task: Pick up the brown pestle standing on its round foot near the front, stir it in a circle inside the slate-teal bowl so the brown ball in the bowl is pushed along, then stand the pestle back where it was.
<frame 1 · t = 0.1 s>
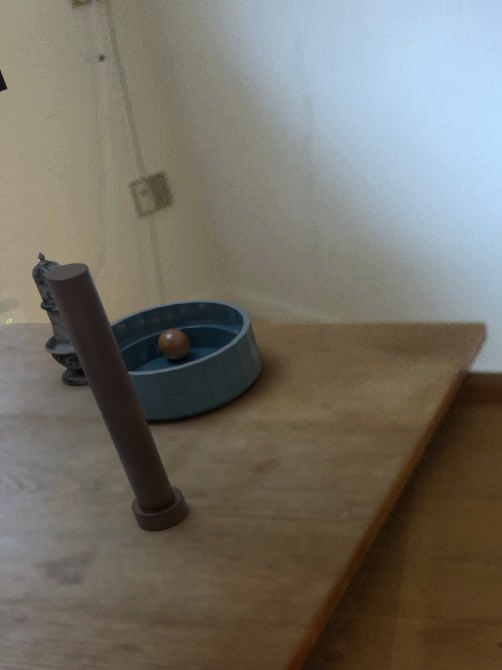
salt shaker: (89, 374, 96), on the table
brown pestle: (162, 515, 76), on the table
bowl: (184, 383, 92), on the table
brown ball: (174, 344, 94), point 2 cm above the table, touching bowl
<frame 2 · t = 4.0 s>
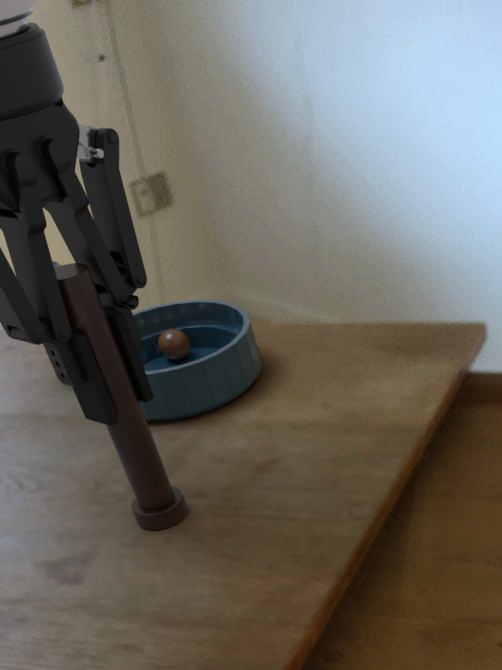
hand: (120, 407, 69), 10 cm above the table, tool pointing down, fingers closed on brown pestle, 3 cm apart
brown pestle: (162, 515, 76), on the table, touching gripper
everything else where it was.
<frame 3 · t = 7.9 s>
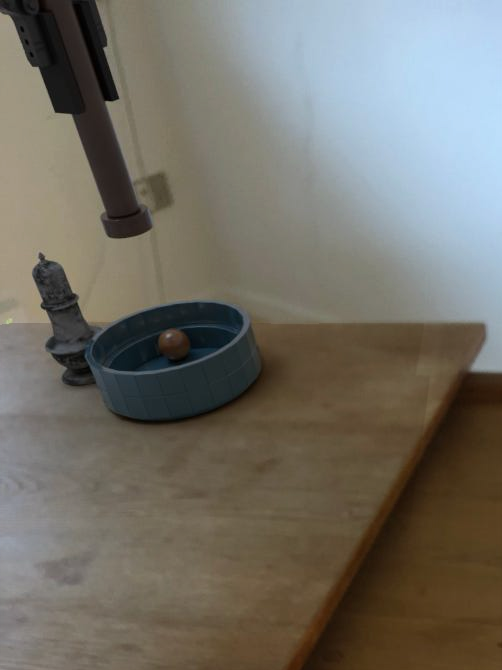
hand: (87, 105, 74), 24 cm above the table, tool pointing down, fingers closed on brown pestle, 3 cm apart
brown pestle: (130, 230, 81), point 15 cm above the table, touching gripper
everything else where it was.
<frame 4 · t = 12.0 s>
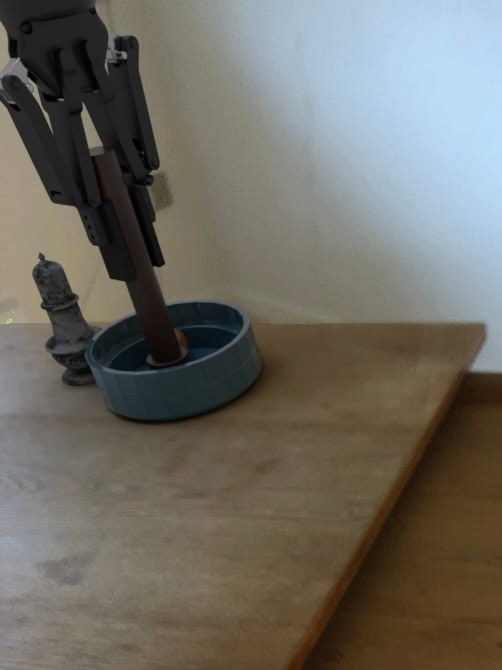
hand: (137, 271, 85), 11 cm above the table, tool pointing down, fingers closed on brown pestle, 3 cm apart
brown pestle: (171, 369, 92), point 1 cm above the table, touching gripper
brown ball: (171, 343, 94), point 2 cm above the table, tilted 12°, touching bowl
everything else where it was.
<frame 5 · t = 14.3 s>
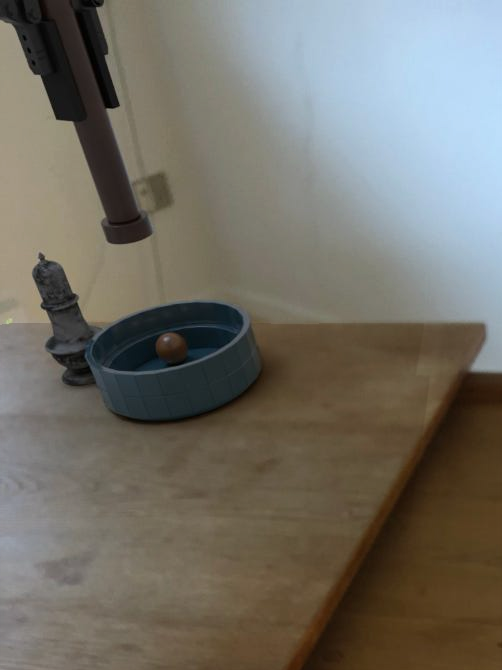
hand: (88, 112, 75), 24 cm above the table, tool pointing down, fingers closed on brown pestle, 3 cm apart
brown pestle: (130, 235, 82), point 14 cm above the table, touching gripper
brown ball: (171, 348, 93), point 2 cm above the table, tilted 31°, touching bowl
everything else where it was.
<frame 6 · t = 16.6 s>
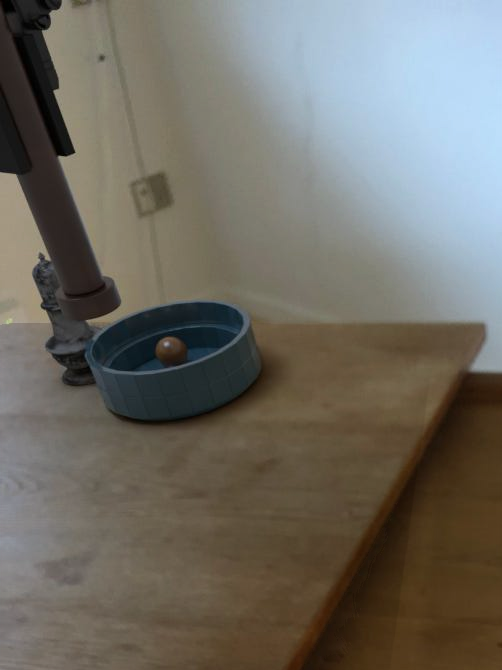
hand: (35, 161, 60), 26 cm above the table, tool pointing down, fingers closed on brown pestle, 3 cm apart
brown pestle: (92, 308, 66), point 16 cm above the table, touching gripper
brown ball: (171, 352, 92), point 2 cm above the table, tilted 69°, touching bowl
everything else where it was.
when the fingers open (10 cm above the table, at t = 20.3 s): brown pestle stays where it is, on the table.
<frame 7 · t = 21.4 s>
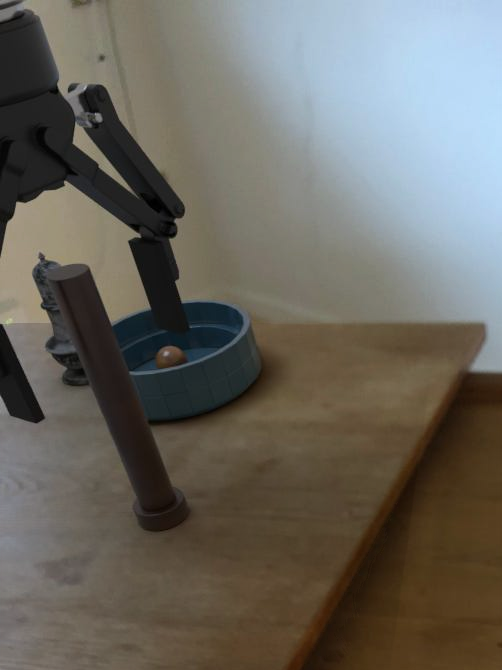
hand: (105, 371, 67), 12 cm above the table, tool pointing down, fingers open, 13 cm apart
brown pestle: (164, 516, 75), on the table
brown ball: (171, 362, 91), point 2 cm above the table, tilted 148°, touching bowl
everything else where it was.
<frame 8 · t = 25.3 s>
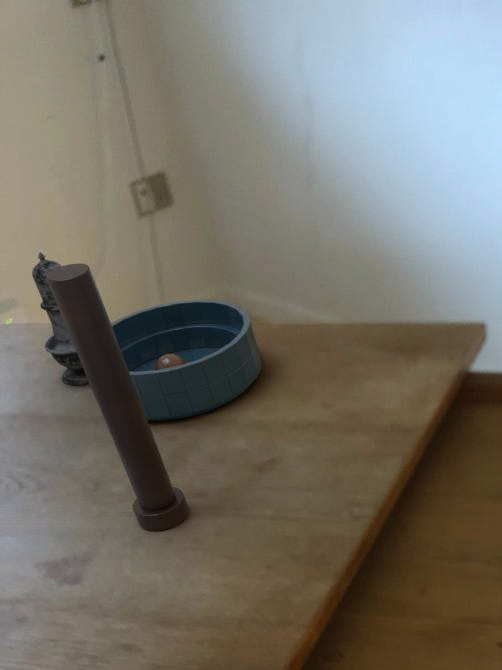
brown ball: (171, 370, 90), point 2 cm above the table, tilted 145°, touching bowl
everything else where it was.
at the end: brown ball moved 5.7 cm from its start; brown ball inside the target area in the bowl (1.3 cm from its centre), point 2.1 cm above the bowl's base; brown pestle inside the target area (0.1 cm from its centre), on the table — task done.
